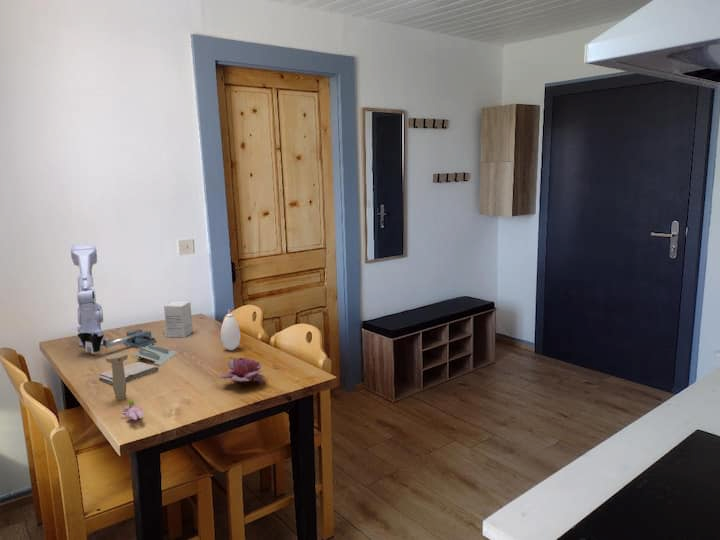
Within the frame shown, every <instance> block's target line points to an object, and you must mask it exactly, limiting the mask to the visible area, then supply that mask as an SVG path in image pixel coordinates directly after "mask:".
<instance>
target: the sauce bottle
mask: <svg viewBox="0 0 720 540" xmlns="http://www.w3.org/2000/svg"><path fill="white" fill-rule="evenodd" d="M220 339H221V343H222V345H223V347H224V348H225V349H227V350H229V351H234V350H236V348H237V347H238V346H239V344H240V342H241V330H240V326H239V324H238V321H237V320H236V318H235V317H234V316H233V314H232V313H231V312H230V310H228V313H227V314H226V315H225V318H224V319H223V321H222V325H221V328H220Z"/></svg>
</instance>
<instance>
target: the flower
mask: <svg viewBox="0 0 720 540" xmlns="http://www.w3.org/2000/svg"><path fill="white" fill-rule="evenodd" d="M227 367H228V368H229V369H230V371H229V372H226V373H222V374H220V378H222V379H230V381H232V382H237V383H243V382H244V383H243V384H244V385H246V382H259V385H261V384H263V379H264V378H266V376H265V375H263V374H260V373H262V371H263V369H261V368H262V364H261V362H260V361H255V360H254V359H250V358H247V357H242V356H239V357H238V358H237V357H235V358H233V359H231V360H229V361H227Z"/></svg>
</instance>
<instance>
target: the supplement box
mask: <svg viewBox="0 0 720 540" xmlns="http://www.w3.org/2000/svg"><path fill="white" fill-rule="evenodd" d="M191 305H192V304H191V301H180V300H179V301H178V300H176V301H175V300H174V301H172V302H171V301H170V302H169V303H168V304H166V305H164V306H163V309H164V320H165V329H166V331H165V332H166V333H165V334H166V338H181V337H182V338H186V337H187V336H189V335H190V334H192V333H193V332H194V331H193V318H192V307H191Z"/></svg>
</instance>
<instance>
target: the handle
mask: <svg viewBox="0 0 720 540" xmlns="http://www.w3.org/2000/svg"><path fill="white" fill-rule="evenodd" d="M127 359H128V353H127V352H117V353H112V354H109V355H107V356H105V361H106V362H107V363H109V364H111V368H112V369H111V370H112V374H113V385H112V387H113V393H114V395H115V396H114V397H115V400H116V401H123V400H125V399H126V398H127V394H126V393H127V382H126V379H125V373H124V367H123V366H124V361H126V360H127Z"/></svg>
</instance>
